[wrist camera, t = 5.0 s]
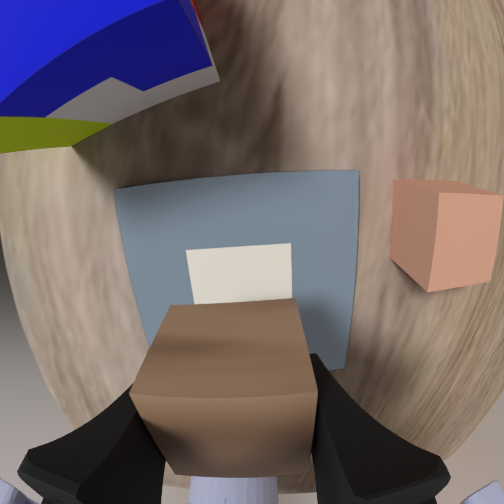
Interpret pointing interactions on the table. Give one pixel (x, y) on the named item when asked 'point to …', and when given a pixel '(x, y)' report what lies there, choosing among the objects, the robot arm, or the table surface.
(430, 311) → the table surface
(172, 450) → the walnut block
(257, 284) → the plate
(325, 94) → the table surface
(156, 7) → the puzzle toy
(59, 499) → the robot arm
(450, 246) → the terracotta block
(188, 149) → the table surface
